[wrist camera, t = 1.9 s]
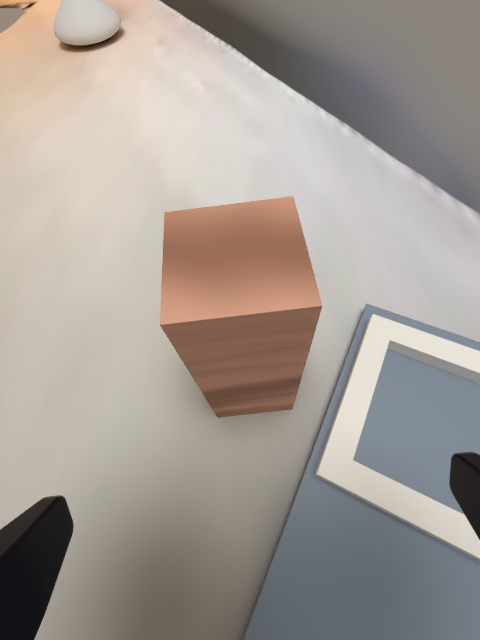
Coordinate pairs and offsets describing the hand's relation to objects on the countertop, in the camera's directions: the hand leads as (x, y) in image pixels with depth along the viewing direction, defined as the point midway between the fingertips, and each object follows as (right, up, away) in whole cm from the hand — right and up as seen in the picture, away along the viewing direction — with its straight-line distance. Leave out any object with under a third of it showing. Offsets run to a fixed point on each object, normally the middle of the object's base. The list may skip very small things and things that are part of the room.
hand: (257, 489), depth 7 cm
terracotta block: (0, 0, +15) cm, 15 cm away
